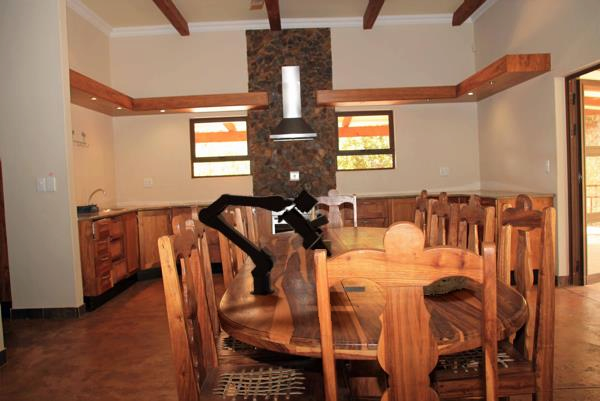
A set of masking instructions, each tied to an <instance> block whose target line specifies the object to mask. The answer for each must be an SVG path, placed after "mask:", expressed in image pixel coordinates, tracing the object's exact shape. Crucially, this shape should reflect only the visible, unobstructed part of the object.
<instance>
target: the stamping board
mask: <svg viewBox="0 0 600 401" xmlns="http://www.w3.org/2000/svg"><path fill="white" fill-rule="evenodd" d="M343 292H344V293H346V292H347V293H348V292H349V293H354V292H355V293H359V292H360V293H361V292H362V293H364V292H365V293H366V286H344V288H343Z"/></svg>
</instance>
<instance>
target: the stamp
mask: <svg viewBox="0 0 600 401" xmlns="http://www.w3.org/2000/svg"><path fill="white" fill-rule="evenodd" d="M323 243H324V244H325V246H326V247H327V248H328V250H329V251H330V253H331V254H332V255H331V256H330V257H329V256H327V258H331V257H332V256H333V252H332V251H333V250H332V248H333V247H332V239H324V240H323Z"/></svg>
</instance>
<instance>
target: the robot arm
mask: <svg viewBox="0 0 600 401" xmlns="http://www.w3.org/2000/svg"><path fill="white" fill-rule="evenodd" d="M318 203H319V200H318V198H317V197H316V196H315V195H314V194H313V193H311V192H310V191H308V189H306V188H303V189H302V190H301V191H300V193H299V194H298V195H297V196H296V197H295V198H286V196H285V195H282V194H275V195H265V196H258V195H246V194H245V195H243V194H232V193H223V194H221V195H220V196H219V197H218V198H217V199H216V200H215V201H213V202H212V203H210V204H209V205H208V206H206V207H203V208H201V209H200V210H199V212H198V221H199V222H200V223H201V224H203V225H205V226H207V227H208V228H211V229H213V230H214V231H217V232H219V233H220V234H221V235H223V236H224V237H225V238H226V239H228V240H229V241H230V242H231V243H233V244H234V246H236V247H237V248H238V249H240V250H241V251H242V252H243V253H244V254H246V255H247V256H248V257H249V258H250V260H251V262H252V263H253V265H255V266H254V268H253V269H252V270H251V271H250V274H251V277H252V282H253V284H252V285H253V290H251V291H249V294H252V295H253V294H254V295H261V296H262V295H263V296H267V295H268V294H271V293H273V292H275V291H276V290H275V289H272V276H271V272H272V270H273V269H274V268H275V267H276V266H277V263H278V261H277V257H276V255H275V252H274V251H272V250H270V248H268V246H266V245H265V246H263V247H260V246H257V245H256V244H255V243H254V242H253V241H251V240H250V239H249V238H248V237H246V236H245V235H244V234H242V233H241V232H240V231H238V230H237V229H236V228H235V227H234V226H233V225H231V224H230V223H229V222H228V221H227V220H226V218H225V216H224V215H223V214H222V213H224V211H225V210H226V209H227V208H228V207H229V206H233V207H234V206H237V207H250V208H260V209H264V210H267V211H270V212H274V213H280V212H282V211H283V212H282V214H277V223H278V224H281V223H282V222H283V221H284V222H285V223H286V224H287V225H288V226H289V227H290V228H291V229H292V230H293V233H295V234H297V235H298V236H299V237H300V238H301V239H302V243H301V244H302V247H303V249H304V250H306V251H307V250H308V249H309V250H310V251H314V250H315V249H326V250H327V256H329V257H330V256H331V255H332V256H333V253H332V254H331V253H330V251H329V250H328V248H327V247H326V246H325V244H324V243H323V240H325V230H324V229H323V227H322V226H326V225H328V224H330V221H329V219H328V216H327V214H326V213H325V214H322V213H321V212H320V213H318V214H316V217H315V218H314V219H311V220H310V219H309V218H306V216H304V215H303V214H305V213H306V214H308V213H310V212H311V210H312V209H314V207H315V206H316V205H317V204H318ZM291 206H292V207H291ZM288 207H291V208H290V209H287V208H288ZM314 252H315V251H314Z"/></svg>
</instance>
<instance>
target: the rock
mask: <svg viewBox="0 0 600 401" xmlns="http://www.w3.org/2000/svg"><path fill="white" fill-rule="evenodd" d="M468 278H469V277H468ZM468 278H465V277H447V278H443V279H440V280H438V281H436V282H434V283H432V284H431V285H429V286H425V287H424V288H423V289H424V295H425V294H443V295H446V294H449V293H448V292H450V291H452V292H454V291H453V290H455V291H456V289H457V290H459V289H460V290H462V288H465V289H466V287H467V285H468V281H469V280H468ZM445 293H446V294H445ZM450 293H451V292H450Z"/></svg>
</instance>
